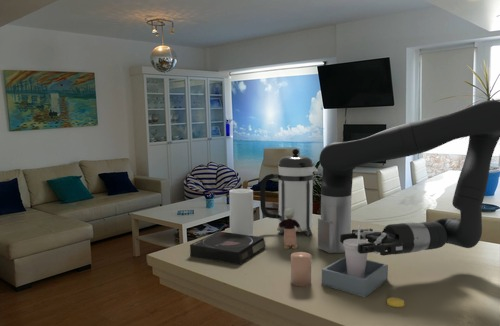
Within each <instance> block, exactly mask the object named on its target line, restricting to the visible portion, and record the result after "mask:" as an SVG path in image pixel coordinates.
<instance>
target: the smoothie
mask: <svg viewBox="0 0 500 326" xmlns="http://www.w3.org/2000/svg"><path fill="white" fill-rule="evenodd" d="M360 229H361V224H358V225H357V230H358V239H346V240H344V241H343V246H344V247H345V252H344V254H345V256H346V265H347V274H348V275H351V276H355V277H359V278H363V279H364V274H365V267H366V261H367V260H368V254H369V253H362V254H360V253H359V252H358V244H361V243H369V242H368V240H367V239H366V240H362V239H360Z"/></svg>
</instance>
